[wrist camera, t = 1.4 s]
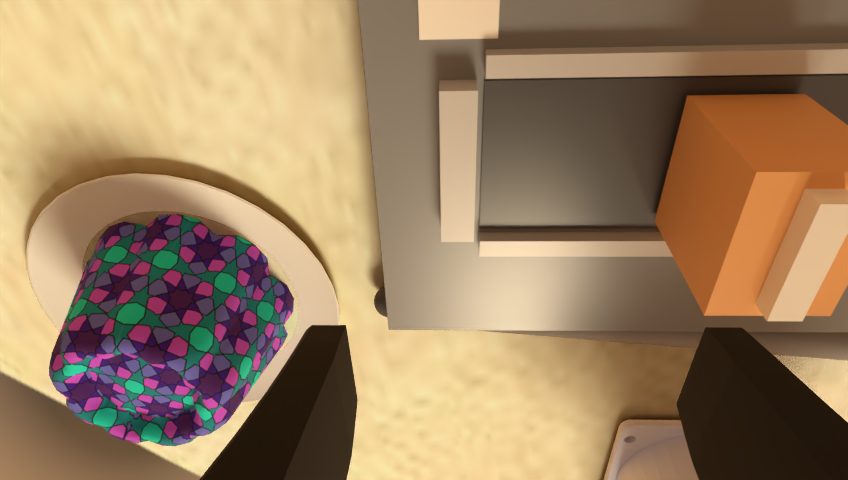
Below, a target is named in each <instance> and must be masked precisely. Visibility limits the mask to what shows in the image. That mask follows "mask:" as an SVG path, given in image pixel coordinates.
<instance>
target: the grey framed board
mask: <svg viewBox="0 0 848 480" xmlns="http://www.w3.org/2000/svg"><path fill="white" fill-rule="evenodd" d="M358 7H359V18H360V29H361V39H362V50H363V61H364V71H365V82H366V93H367V103H368V114H369V125H370V135H371V146H372V157H373V167H374V178H375V189H376V199H377V210H378V221H379V232H380V242H381V253H382V264H383V274H384V285H385V296H386V306H387V317H388V328H389V330H521V331H683V332H704V329H705V327H734V328H743V329H744V330H745V331H747V332H845V333H848V285H847V287H846V289H845V291H844V292H843V294H842V296H841V298H840V300H839V302H838V303H837V305H836V307H835V309H834V311H833V312H832V314H831V316H805V318H804V319H803V321H766V319H765V318H764V316H704V314H703V312H702V311H701V309H700V307H699V305H698V303H697V301H696V299H695V297H694V295H693V293H692V292H691V290H690V288H689V286H688V284H687V282H686V280H685V278H684V276H683V274H682V273H681V271H680V269H679V267H678V265H677V263H676V261H675V259H674V257H673V255H672V254H671V252H670V250H669V248H668V246H667V244H666V242H665V240H664V238H663V236H662V235H661V233H660V231H659V229H658V227H657V225H656V223H655V218H656V214H657V210H658V207H659V203H660V199H661V195H662V191H663V187H664V183H665V179H666V176H667V172H668V168H669V164H670V160H671V156H672V152H673V149H674V145H675V141H676V137H677V133H678V129H679V125H680V122H681V118H682V114H683V110H684V106H685V102H686V98H687V95H755V94H806V95H807V96H809V97H810V98H812V99H813V100H814V101H816V102H817V103H818V104H820V105H821V106H822V107H824V108H825V109H827V110H828V111H829V112H831V113H832V114H833V115H835V116H836V117H837V118H839V119H840V120H841V121H843V122H844V123H846V124H847V125H848V0H358Z"/></svg>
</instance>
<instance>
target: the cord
mask: <svg viewBox="0 0 848 480" xmlns="http://www.w3.org/2000/svg"><path fill="white" fill-rule="evenodd" d="M479 331H491V332H503V333H516V334H528V335H540V336H553V337H565V338H577V339H590V340H602V341H614V342H627V343H639V344H651V345H664V346H676V347H688V348H698V345H699V343H700V340H701V337H702V335H703V332H683V331H521V330H479ZM748 333H749V334H750V335H751V336H752V337H753V338H755V339H756V340H757V341H758V342H759V343H760V344H761V345H762V346H763V347H765V348H766V349H767V350H768V351H769V352H770V353H771V354H775V355H787V356H799V357H812V358H824V359H836V360H848V333H845V332H748Z"/></svg>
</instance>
